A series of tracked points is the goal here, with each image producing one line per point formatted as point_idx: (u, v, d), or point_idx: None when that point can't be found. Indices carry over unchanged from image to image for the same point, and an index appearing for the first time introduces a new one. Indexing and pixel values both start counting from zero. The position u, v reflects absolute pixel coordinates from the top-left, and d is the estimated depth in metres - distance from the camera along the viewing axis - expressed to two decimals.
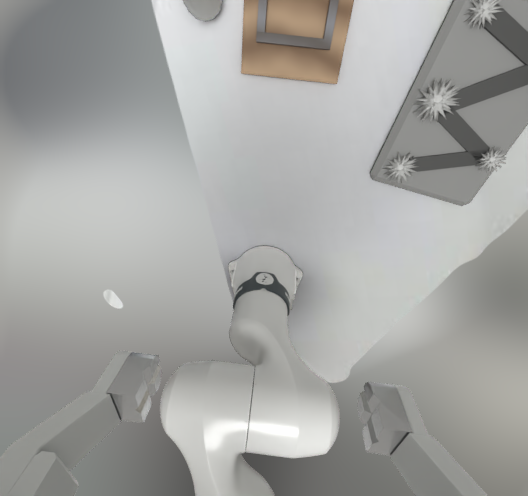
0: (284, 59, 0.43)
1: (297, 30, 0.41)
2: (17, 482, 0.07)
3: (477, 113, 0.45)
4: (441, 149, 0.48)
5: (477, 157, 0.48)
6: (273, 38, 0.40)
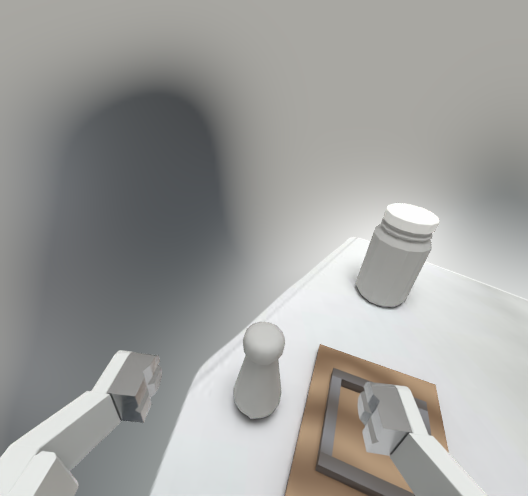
0: None
1: (377, 475, 0.27)
2: (17, 482, 0.07)
3: None
4: None
5: None
6: (345, 470, 0.26)
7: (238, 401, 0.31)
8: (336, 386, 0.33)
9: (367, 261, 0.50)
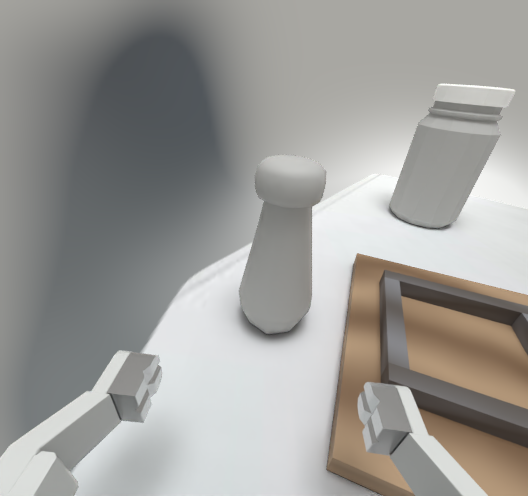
0: (478, 463, 0.13)
1: None
2: (17, 482, 0.07)
3: None
4: None
5: None
6: (438, 388, 0.15)
7: (247, 300, 0.19)
8: (394, 288, 0.22)
9: (408, 167, 0.38)
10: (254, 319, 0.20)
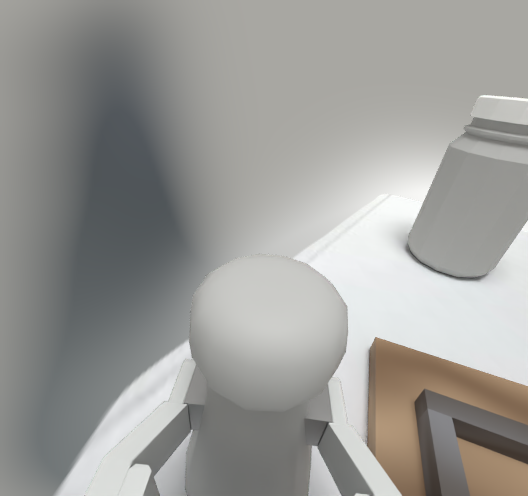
0: None
1: None
2: None
3: None
4: None
5: None
6: None
7: None
8: (446, 439, 0.13)
9: (435, 200, 0.30)
10: None
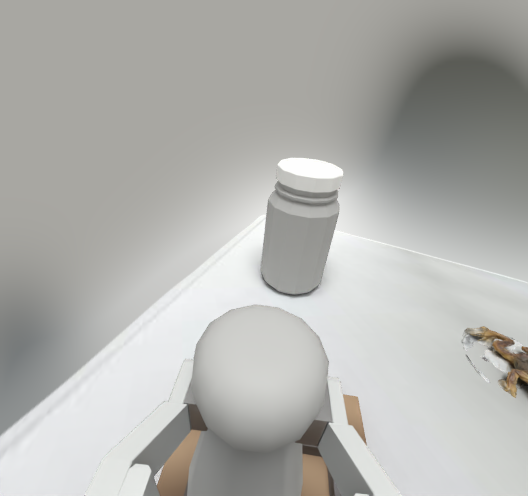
0: None
1: None
2: None
3: None
4: None
5: None
6: None
7: None
8: None
9: (266, 239, 0.38)
10: None
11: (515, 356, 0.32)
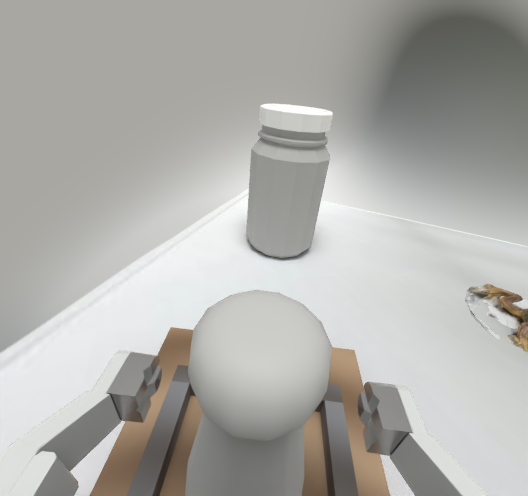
0: None
1: None
2: (17, 482, 0.07)
3: None
4: None
5: None
6: None
7: None
8: (174, 402, 0.17)
9: (251, 195, 0.34)
10: None
11: (524, 310, 0.29)
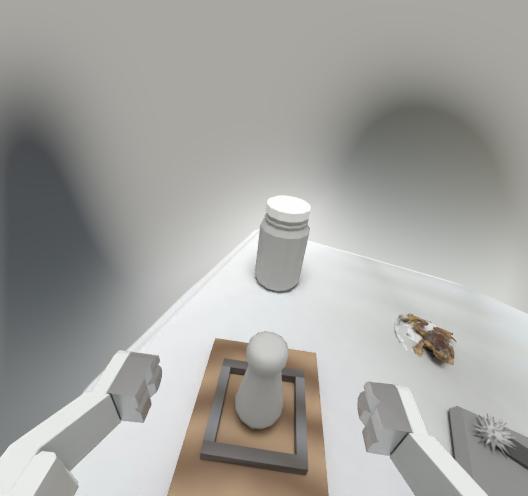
0: (240, 487, 0.27)
1: (258, 446, 0.30)
2: (17, 482, 0.07)
3: None
4: None
5: None
6: (226, 450, 0.28)
7: (239, 410, 0.30)
8: (224, 375, 0.35)
9: (259, 252, 0.53)
10: None
11: (426, 332, 0.48)
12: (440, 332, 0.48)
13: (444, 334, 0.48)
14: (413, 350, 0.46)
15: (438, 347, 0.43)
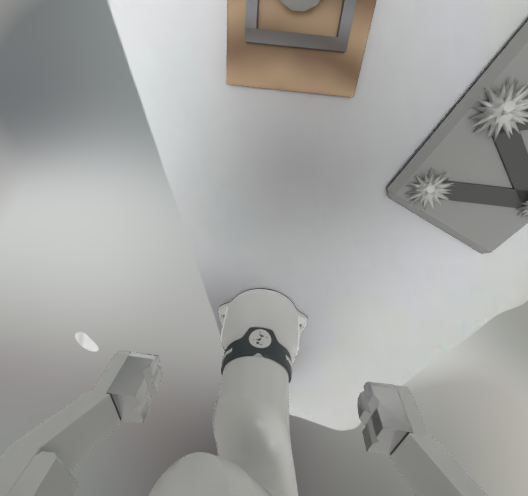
0: (283, 65, 0.32)
1: (301, 26, 0.30)
2: (17, 482, 0.07)
3: None
4: (484, 178, 0.37)
5: (522, 199, 0.37)
6: (268, 37, 0.29)
7: None
8: None
9: None
10: (283, 3, 0.28)
11: None
12: None
13: None
14: None
15: None
